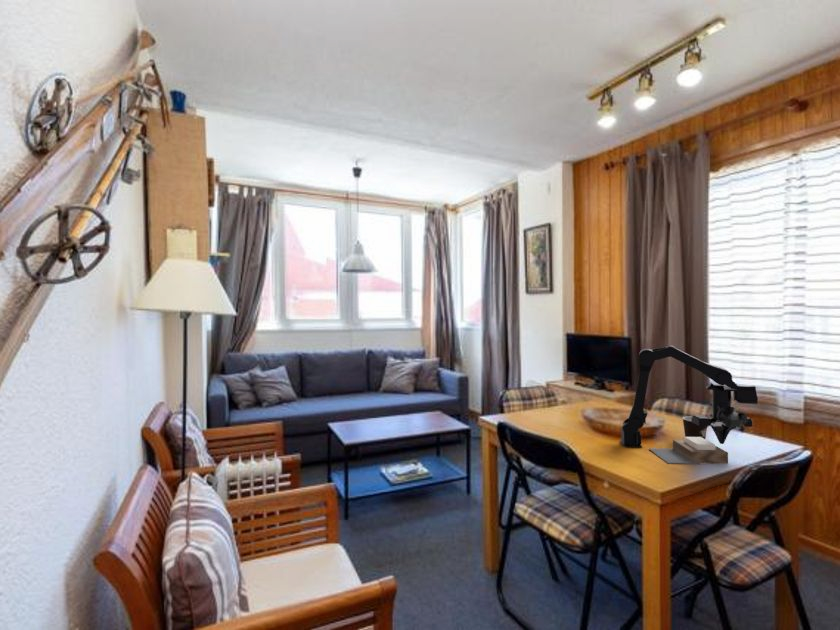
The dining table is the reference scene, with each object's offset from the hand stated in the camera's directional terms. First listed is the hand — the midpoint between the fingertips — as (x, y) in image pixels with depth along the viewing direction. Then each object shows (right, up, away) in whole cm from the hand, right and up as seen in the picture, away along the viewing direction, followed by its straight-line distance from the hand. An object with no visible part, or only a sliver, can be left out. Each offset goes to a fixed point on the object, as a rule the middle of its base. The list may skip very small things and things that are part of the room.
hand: (721, 443), depth 157 cm
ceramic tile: (-8, -1, +1) cm, 8 cm away
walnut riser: (-8, -5, +1) cm, 9 cm away
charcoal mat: (-17, -5, +1) cm, 18 cm away
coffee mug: (+1, -5, +15) cm, 16 cm away
